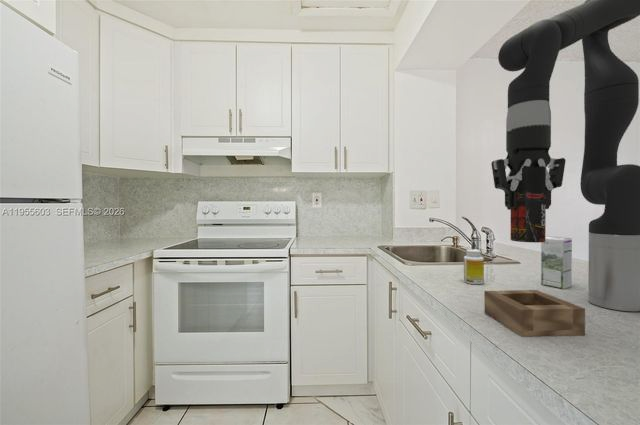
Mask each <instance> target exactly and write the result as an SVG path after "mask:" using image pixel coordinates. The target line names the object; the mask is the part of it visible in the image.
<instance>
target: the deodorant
mask: <svg viewBox="0 0 640 425" xmlns="http://www.w3.org/2000/svg"><path fill="white" fill-rule="evenodd" d="M546 168H547V167H524V168H522V174H521V175H522V180H521V181H519V184H518V186H517V188H516V190H515V192H517V209H516V210H510V241H512V242H520V243H541V242H545V237H546V224H547V223H546V214H547V213H546V210H547V209H546ZM519 169H520V168H518V170H517V171H515V170H513V171H511V176H515V175H516V174H517V173H518V171H519Z"/></svg>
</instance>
